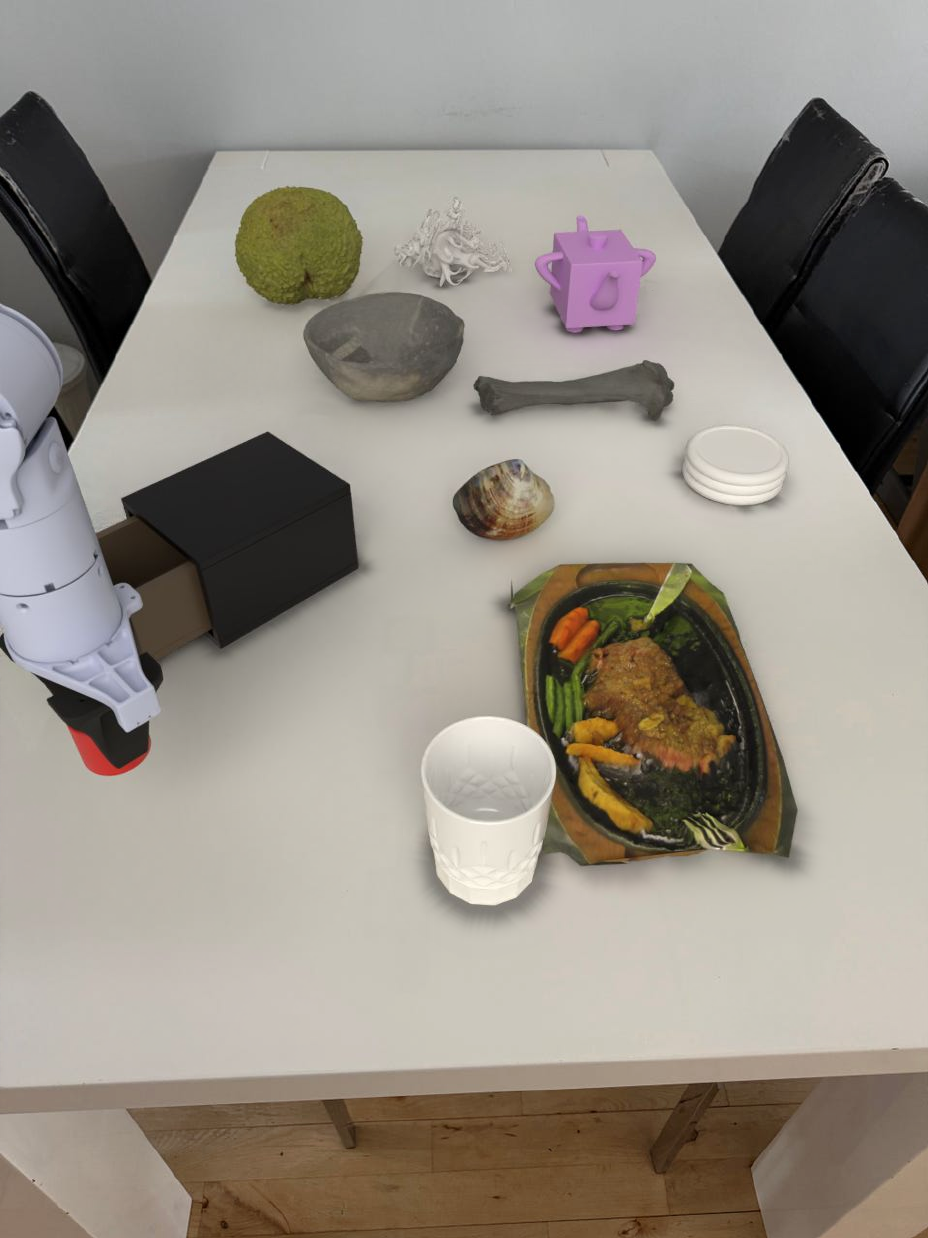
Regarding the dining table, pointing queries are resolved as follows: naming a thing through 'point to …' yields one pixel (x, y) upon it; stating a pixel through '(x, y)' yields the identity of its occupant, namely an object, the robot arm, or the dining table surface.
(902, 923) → the dining table surface
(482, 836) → the white cup
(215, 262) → the dining table surface
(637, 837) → the prepared meal
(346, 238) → the fruit
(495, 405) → the bone
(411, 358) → the bowl
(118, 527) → the drawer
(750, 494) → the white round flat stack
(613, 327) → the teapot
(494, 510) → the seashell
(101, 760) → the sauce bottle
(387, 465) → the dining table surface
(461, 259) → the figurine
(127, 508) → the cabinet
